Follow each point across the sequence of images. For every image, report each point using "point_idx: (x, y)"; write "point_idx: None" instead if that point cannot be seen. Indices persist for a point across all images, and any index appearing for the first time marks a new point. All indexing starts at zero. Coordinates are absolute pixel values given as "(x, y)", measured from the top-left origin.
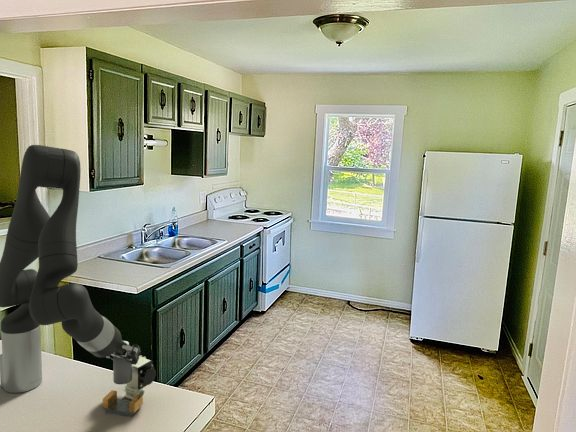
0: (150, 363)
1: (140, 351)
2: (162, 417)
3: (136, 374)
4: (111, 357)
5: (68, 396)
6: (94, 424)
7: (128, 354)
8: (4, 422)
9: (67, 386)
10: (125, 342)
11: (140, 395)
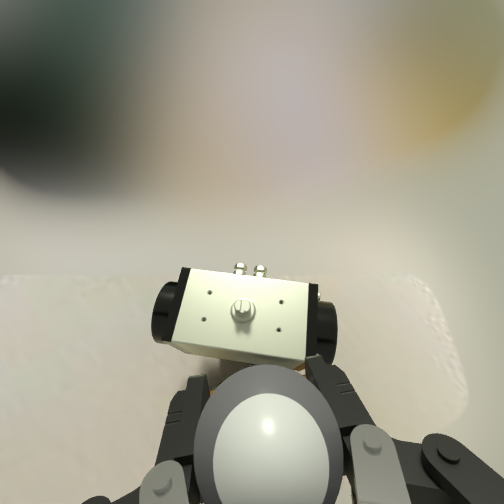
0: (316, 298)
1: (474, 458)
2: (387, 393)
3: (291, 364)
4: (202, 499)
5: (57, 425)
6: None
7: (340, 467)
8: None
9: (25, 379)
10: (278, 426)
11: (305, 377)
